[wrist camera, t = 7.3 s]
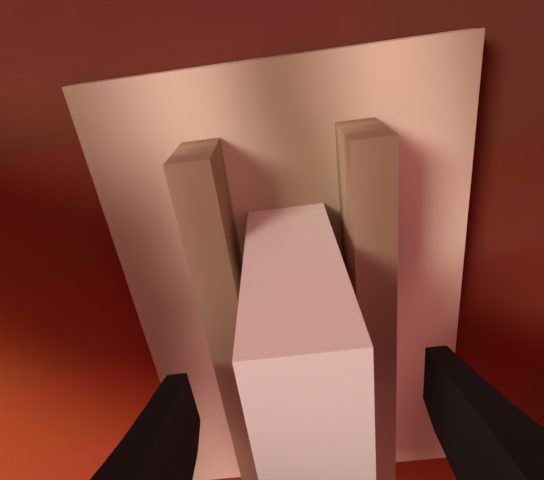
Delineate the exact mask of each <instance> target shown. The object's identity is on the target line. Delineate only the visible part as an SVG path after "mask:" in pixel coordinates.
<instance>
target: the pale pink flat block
mask: <svg viewBox="0 0 544 480" xmlns="http://www.w3.org/2000/svg"><path fill="white" fill-rule="evenodd" d="M232 364H233V369H234V373H235V378H236V382H237V387H238V391H239V396H240V400H241V405H242V409H243V414H244V418H245V423H246V427H247V431H248V436H249V440H250V445H251V449H252V454H253V458H254V463H255V467H256V472H257V476H258V480H376V450H375V405H374V360H373V345H372V342H371V339H370V337H369V334H368V331H367V328H366V325H365V322H364V319H363V316H362V313H361V311H360V308H359V305H358V302H357V299H356V296H355V293H354V290H353V287H352V285H351V282H350V279H349V276H348V273H347V270H346V267H345V264H344V261H343V259H342V256H341V253H340V250H339V247H338V244H337V241H336V238H335V235H334V233H333V230H332V227H331V224H330V221H329V218H328V215H327V212H326V209H325V207H324V204H323V203H319V204H311V205H303V206H295V207H287V208H279V209H271V210H262V211H254V212H248V217H247V226H246V236H245V245H244V255H243V264H242V273H241V283H240V292H239V302H238V311H237V320H236V330H235V339H234V349H233V358H232Z"/></svg>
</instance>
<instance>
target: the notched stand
mask: <svg viewBox="0 0 544 480" xmlns="http://www.w3.org/2000/svg"><path fill="white" fill-rule="evenodd" d="M484 35H485V28H473V29H463V30H456V31H449V32H442V33H435V34H428V35H420V36H413V37H406V38H399V39H392V40H385V41H378V42H370V43H363V44H356V45H349V46H342V47H335V48H328V49H320V50H313V51H306V52H299V53H292V54H285V55H278V56H270V57H263V58H256V59H249V60H242V61H235V62H228V63H220V64H213V65H206V66H199V67H192V68H185V69H178V70H170V71H163V72H156V73H149V74H142V75H135V76H128V77H120V78H113V79H106V80H99V81H92V82H85V83H77V84H73V85H68V86H64V87H62V90H63V93H64V96H65V99H66V102H67V105H68V108H69V111H70V114H71V117H72V120H73V123H74V126H75V129H76V132H77V135H78V138H79V141H80V144H81V147H82V150H83V153H84V156H85V159H86V162H87V164H88V167H89V170H90V173H91V176H92V179H93V182H94V185H95V188H96V191H97V194H98V197H99V200H100V203H101V206H102V209H103V212H104V215H105V218H106V221H107V224H108V227H109V230H110V233H111V236H112V239H113V242H114V245H115V248H116V251H117V254H118V257H119V260H120V263H121V266H122V269H123V272H124V275H125V278H126V281H127V284H128V287H129V290H130V293H131V296H132V299H133V302H134V305H135V308H136V311H137V314H138V317H139V320H140V323H141V326H142V329H143V332H144V335H145V338H146V341H147V344H148V347H149V350H150V353H151V356H152V359H153V362H154V365H155V368H156V371H157V374H158V377H159V380H160V383H162V381H163V380H164V378H165V377H166V376H167V375H171V374H180V373H187V375H188V379H189V382H190V385H191V389H192V392H193V396H194V399H195V403H196V406H197V409H198V413H199V416H200V433H199V444H198V454H197V460H196V465H195V470H194V475H193V480H212V479H222V478H233V477H241V479H242V480H258V476H257V472H256V467H255V463H254V458H253V454H252V449H251V445H250V440H249V436H248V431H247V427H246V423H245V418H244V414H243V409H242V405H241V400H240V396H239V391H238V387H237V382H236V378H235V373H234V369H233V364H232V358H233V349H234V339H235V330H236V320H237V311H238V302H239V292H240V283H241V273H242V264H243V255H244V245H245V236H246V226H247V217H248V212H254V211H262V210H271V209H279V208H287V207H295V206H303V205H311V204H319V203H323V204H324V207H325V209H326V212H327V215H328V218H329V221H330V224H331V227H332V230H333V233H334V235H335V238H336V241H337V244H338V247H339V250H340V253H341V256H342V259H343V261H344V264H345V267H346V270H347V273H348V276H349V279H350V282H351V285H352V287H353V290H354V293H355V296H356V299H357V302H358V305H359V308H360V311H361V313H362V316H363V319H364V322H365V325H366V328H367V331H368V334H369V337H370V339H371V342H372V345H373V360H374V405H375V450H376V480H396V462H404V461H414V460H425V459H436V458H446V455H445V453H444V451H443V449H442V447H441V445H440V442H439V440H438V438H437V436H436V434H435V432H434V429H433V426H432V423H431V420H430V417H429V414H428V411H427V408H426V405H425V402H424V399H423V386H424V366H425V348H426V347H435V346H445V345H446V346H448V347H449V348H450V349H451V350H452V351H453V352H455V349H456V338H457V328H458V317H459V306H460V295H461V284H462V273H463V263H464V252H465V241H466V230H467V219H468V208H469V198H470V187H471V176H472V165H473V154H474V143H475V132H476V122H477V111H478V100H479V89H480V78H481V67H482V57H483V46H484Z"/></svg>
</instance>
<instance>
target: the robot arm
mask: <svg viewBox="0 0 544 480" xmlns="http://www.w3.org/2000/svg"><path fill="white" fill-rule="evenodd" d="M423 399H424V402H425V405H426V408H427V411H428V414H429V417H430V420H431V423H432V426H433V429H434V432H435V434H436V436H437V438H438V440H439V442H440V445H441V447H442V449H443V451H444V453H445V455H446V457H447V459H448V462H449V464H450V466H451V468H452V470H453V472H454V474H455V476H456V478H457V480H544V428H543V427H542V426H540V425H539V424H538V423H536V422H535V421H534V420H532V419H531V418H530V417H529V416H527V415H526V414H525V413H523V412H522V411H521V410H520V409H518V408H517V407H516V406H515V405H513V404H512V403H511V402H510V401H509V400H507V399H506V398H505V397H504V396H503V395H502V394H500V393H499V392H498V391H497V390H496V389H494V388H493V387H492V386H491V385H490V384H489V383H488V382H486V381H485V380H484V379H483V378H482V377H481V376H480V375H479V374H477V373H476V372H475V371H474V370H473V369H472V368H471V367H470V366H469V365H468V364H466V363H465V362H464V361H463V360H462V359H461V358H460V357H459V356H458V355H457V354H456V353H455V352H453V351H452V350H451V349H450V348H449V347H448V346H446V345H445V346H435V347H426V348H425V366H424V386H423ZM199 433H200V416H199V413H198V409H197V406H196V403H195V399H194V396H193V392H192V389H191V385H190V382H189V379H188V375H187V373H180V374H171V375H167V376H166V377H165V378H164V380H163V381H162V383H161V384H160V386H159V387H158V389H157V390H156V392H155V393H154V395H153V396H152V398H151V399H150V401H149V402H148V404H147V405H146V407H145V408H144V409H143V411H142V412H141V414H140V415H139V417H138V418H137V419H136V421H135V422H134V424H133V425H132V426H131V428H130V429H129V431H128V432H127V433H126V435H125V436H124V438H123V439H122V440H121V442H120V443H119V444H118V445H117V447H116V448H115V449H114V451H113V452H112V453H111V454H110V456H109V457H108V458H107V459H106V461H105V462H104V463H103V465H102V466H101V467H100V468H99V469H98V471H97V472H96V473H95V474H94V475H93V477H92V478H91V479H90V480H193V475H194V470H195V465H196V460H197V454H198V444H199Z"/></svg>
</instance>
